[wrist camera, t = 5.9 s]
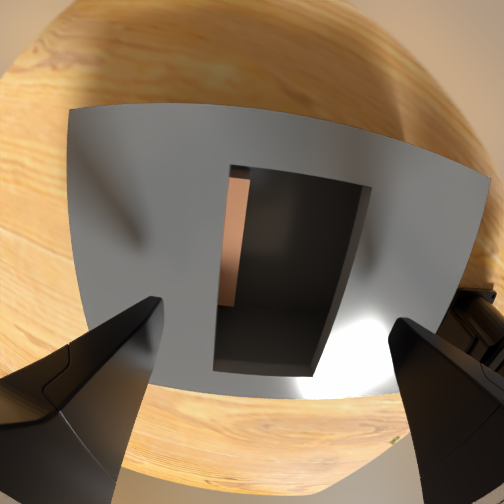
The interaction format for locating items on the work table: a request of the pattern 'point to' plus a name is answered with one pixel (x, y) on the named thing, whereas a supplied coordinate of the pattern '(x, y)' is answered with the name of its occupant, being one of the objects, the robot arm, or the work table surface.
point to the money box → (266, 242)
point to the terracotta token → (233, 235)
